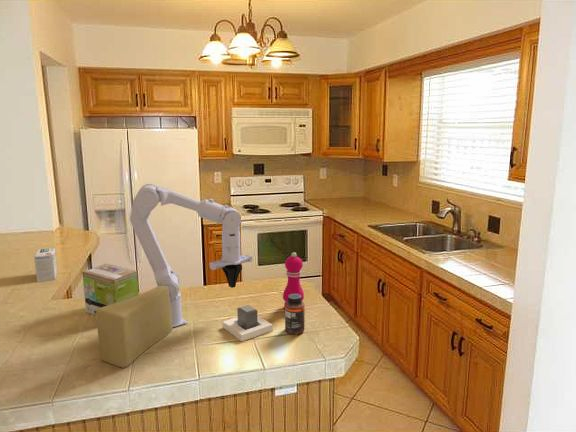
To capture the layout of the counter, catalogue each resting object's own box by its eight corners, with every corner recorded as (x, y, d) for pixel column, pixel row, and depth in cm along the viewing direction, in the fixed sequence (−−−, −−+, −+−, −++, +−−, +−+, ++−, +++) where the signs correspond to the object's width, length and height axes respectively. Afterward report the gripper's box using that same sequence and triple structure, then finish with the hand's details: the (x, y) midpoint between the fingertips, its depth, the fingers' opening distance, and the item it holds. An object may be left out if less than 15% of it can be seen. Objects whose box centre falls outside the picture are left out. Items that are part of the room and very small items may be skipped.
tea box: (84, 313, 141) (80, 270, 138) (110, 302, 149) (106, 262, 146) (116, 323, 134) (113, 278, 131) (141, 311, 143) (138, 269, 140)
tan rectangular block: (158, 326, 132) (156, 281, 129) (183, 333, 127) (181, 286, 124) (98, 360, 113) (93, 307, 109) (124, 370, 108) (120, 315, 105)
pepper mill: (301, 313, 142) (302, 256, 138) (280, 311, 143) (281, 254, 139) (305, 304, 149) (306, 250, 145) (285, 303, 150) (285, 248, 146)
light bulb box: (39, 273, 178) (36, 249, 175) (57, 271, 180) (54, 247, 178) (36, 282, 168) (33, 256, 166) (55, 279, 171) (53, 254, 169)
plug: (246, 332, 127) (246, 312, 126) (237, 326, 131) (237, 307, 130) (257, 328, 130) (257, 309, 128) (248, 322, 134) (248, 304, 132)
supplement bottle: (299, 324, 134) (300, 291, 131) (307, 333, 128) (308, 298, 126) (282, 327, 132) (282, 293, 129) (289, 336, 126) (289, 300, 124)
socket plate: (241, 341, 123) (241, 334, 122) (222, 327, 131) (222, 320, 131) (272, 330, 130) (272, 323, 129) (252, 318, 138) (252, 311, 138)
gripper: (217, 252, 127) (218, 295, 129) (257, 245, 136) (257, 285, 138) (206, 247, 132) (207, 288, 135) (245, 240, 141) (245, 279, 144)
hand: (232, 286), depth 137 cm, fingers closed
